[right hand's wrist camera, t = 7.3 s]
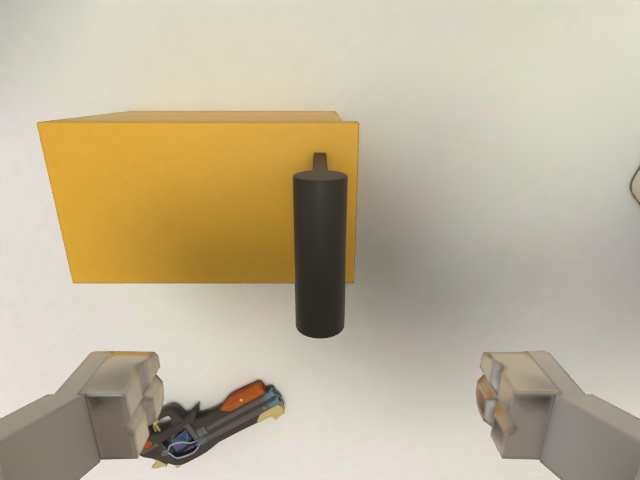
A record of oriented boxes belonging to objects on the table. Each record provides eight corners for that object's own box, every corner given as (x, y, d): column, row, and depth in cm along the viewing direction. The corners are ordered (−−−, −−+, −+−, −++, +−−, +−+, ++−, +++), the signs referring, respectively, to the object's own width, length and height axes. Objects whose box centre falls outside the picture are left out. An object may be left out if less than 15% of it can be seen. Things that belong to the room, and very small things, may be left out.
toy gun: (76, 427, 42) (134, 498, 44) (234, 340, 40) (287, 419, 42) (91, 410, 45) (144, 478, 47) (239, 328, 43) (289, 403, 45)
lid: (357, 121, 24) (380, 140, 15) (352, 276, 27) (368, 367, 18) (47, 121, 24) (-114, 140, 15) (81, 276, 27) (-34, 367, 18)
